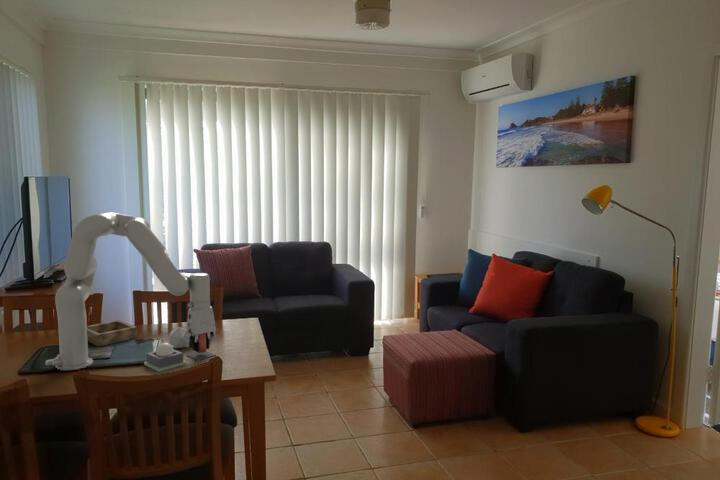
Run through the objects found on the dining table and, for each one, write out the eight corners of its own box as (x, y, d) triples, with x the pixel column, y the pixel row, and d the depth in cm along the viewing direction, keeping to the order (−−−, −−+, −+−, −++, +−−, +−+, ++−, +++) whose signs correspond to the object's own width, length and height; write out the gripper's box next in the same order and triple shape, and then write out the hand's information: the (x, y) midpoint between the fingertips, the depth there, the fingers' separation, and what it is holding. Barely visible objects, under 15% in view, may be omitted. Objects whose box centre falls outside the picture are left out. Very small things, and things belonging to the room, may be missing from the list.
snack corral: (98, 346, 230) (97, 334, 229) (81, 338, 241) (80, 327, 240) (137, 338, 242) (137, 327, 242) (119, 330, 254) (119, 320, 253)
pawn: (199, 353, 216) (199, 332, 215) (194, 351, 219) (193, 330, 218) (208, 351, 219) (208, 330, 218) (202, 349, 222) (202, 328, 221)
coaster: (198, 360, 214) (198, 359, 214) (186, 356, 219) (186, 355, 219) (215, 355, 220) (215, 354, 220) (204, 351, 225) (204, 350, 225)
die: (187, 355, 228) (196, 336, 235) (182, 341, 222) (191, 322, 229) (168, 353, 229) (177, 334, 236) (162, 339, 223) (172, 320, 230)
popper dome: (161, 361, 204) (161, 346, 204) (153, 357, 208) (153, 343, 208) (176, 357, 209) (176, 342, 208) (168, 353, 213) (167, 339, 212)
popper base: (159, 371, 201) (158, 360, 201) (144, 364, 208) (143, 353, 208) (186, 364, 209) (185, 353, 209) (170, 357, 217) (170, 347, 216)
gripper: (186, 309, 208) (187, 356, 210) (223, 302, 221) (224, 347, 223) (175, 306, 213) (177, 352, 215) (212, 299, 226) (213, 343, 228)
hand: (201, 349), depth 219 cm, fingers closed on pawn, 4 cm apart
